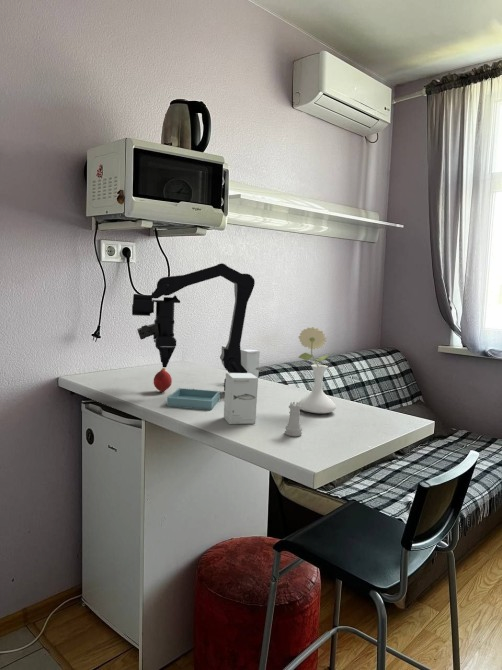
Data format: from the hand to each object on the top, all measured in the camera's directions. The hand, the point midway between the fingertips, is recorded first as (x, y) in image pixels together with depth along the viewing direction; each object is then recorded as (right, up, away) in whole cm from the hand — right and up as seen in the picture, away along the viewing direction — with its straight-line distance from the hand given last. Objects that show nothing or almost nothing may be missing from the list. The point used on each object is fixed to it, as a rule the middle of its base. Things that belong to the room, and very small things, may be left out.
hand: (163, 364), depth 170 cm
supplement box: (+25, -14, -27) cm, 39 cm away
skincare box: (+27, -8, +23) cm, 36 cm away
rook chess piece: (+39, -16, -37) cm, 56 cm away
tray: (+11, -11, -10) cm, 19 cm away
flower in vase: (+47, -13, -13) cm, 50 cm away
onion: (-1, -9, +1) cm, 9 cm away
